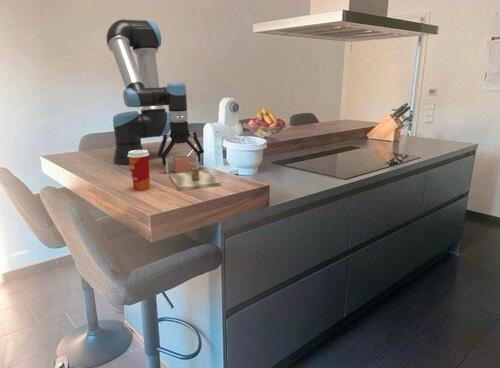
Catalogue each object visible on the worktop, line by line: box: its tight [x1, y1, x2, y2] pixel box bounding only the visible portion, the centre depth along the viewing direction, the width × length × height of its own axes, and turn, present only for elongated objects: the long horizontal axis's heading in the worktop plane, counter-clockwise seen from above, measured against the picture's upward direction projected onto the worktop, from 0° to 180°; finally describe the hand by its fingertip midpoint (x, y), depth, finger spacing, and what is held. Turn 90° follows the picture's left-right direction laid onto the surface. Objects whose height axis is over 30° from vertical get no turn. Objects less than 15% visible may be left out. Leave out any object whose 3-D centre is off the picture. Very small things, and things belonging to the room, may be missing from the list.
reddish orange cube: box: [172, 155, 191, 174], centre depth 161 cm, size 6×6×6 cm
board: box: [168, 167, 222, 192], centre depth 146 cm, size 16×20×6 cm
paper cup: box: [128, 149, 151, 191], centre depth 137 cm, size 8×8×14 cm
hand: (182, 170), depth 162 cm, fingers open, 12 cm apart
